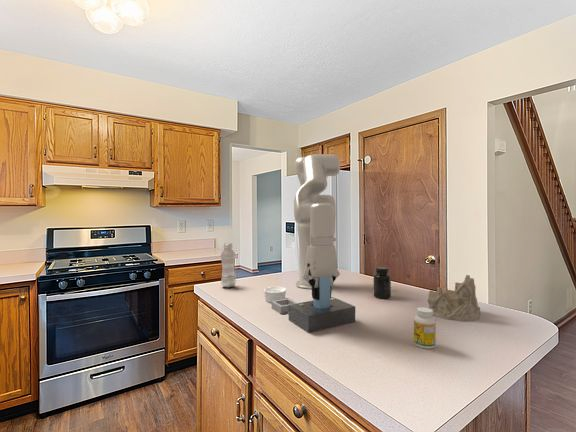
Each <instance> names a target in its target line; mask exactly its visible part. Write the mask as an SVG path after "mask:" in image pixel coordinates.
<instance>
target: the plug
mask: <svg viewBox="0 0 576 432" xmlns="http://www.w3.org/2000/svg"><path fill="white" fill-rule="evenodd" d="M330 278H331V276H326V277H320V278H319V282H318V288H319V300H316V299H313V298H312V299H313V300H312V301H313V306H314V307H316V308H318V309H325V308H330Z"/></svg>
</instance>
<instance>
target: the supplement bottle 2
mask: <svg viewBox="0 0 576 432" xmlns="http://www.w3.org/2000/svg"><path fill="white" fill-rule="evenodd" d="M416 314H417V315H415V316H414V318H413V344H414V345H415V346H416V347H418V348H420V349H425V350H432V349H434V348H435V347H436V343H437V342H436V341H437V340H436V338H437V337H436V335H437V334H436V333H437V331H436V330H437V328H436V327H437V326H436V325H437V323H436V319H435V318H434V317H433V316H434V315H433V310H432V309H429V307H417V308H416Z"/></svg>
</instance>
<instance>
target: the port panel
mask: <svg viewBox="0 0 576 432" xmlns="http://www.w3.org/2000/svg"><path fill="white" fill-rule="evenodd" d="M288 321H289V322H291V323H293V324H294V325H295V326H297V327H298V328H300V329H302V330H303V331H304V332H306V333H313V332H317V331H323V330H326V329H331V328H335V327H339V326H343V325H347V324H353V323H355V322H356V306H355V305H352V304H350V303H348V302H346V301H344V300H340V299H338V298H337V297H333V296H331V298H330V308H325V309H318V308H316V307H314V306H313V300H308V301H303V302H296V304H291V305H289V312H288Z"/></svg>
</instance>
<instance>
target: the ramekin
mask: <svg viewBox="0 0 576 432" xmlns="http://www.w3.org/2000/svg"><path fill="white" fill-rule="evenodd" d="M263 292H264V300H265V301H266V302H268V303H270V304H272V301H276V300H282V299H286V292H287V288H286V287H283V286H268V287H266V288H264V289H263Z"/></svg>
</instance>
